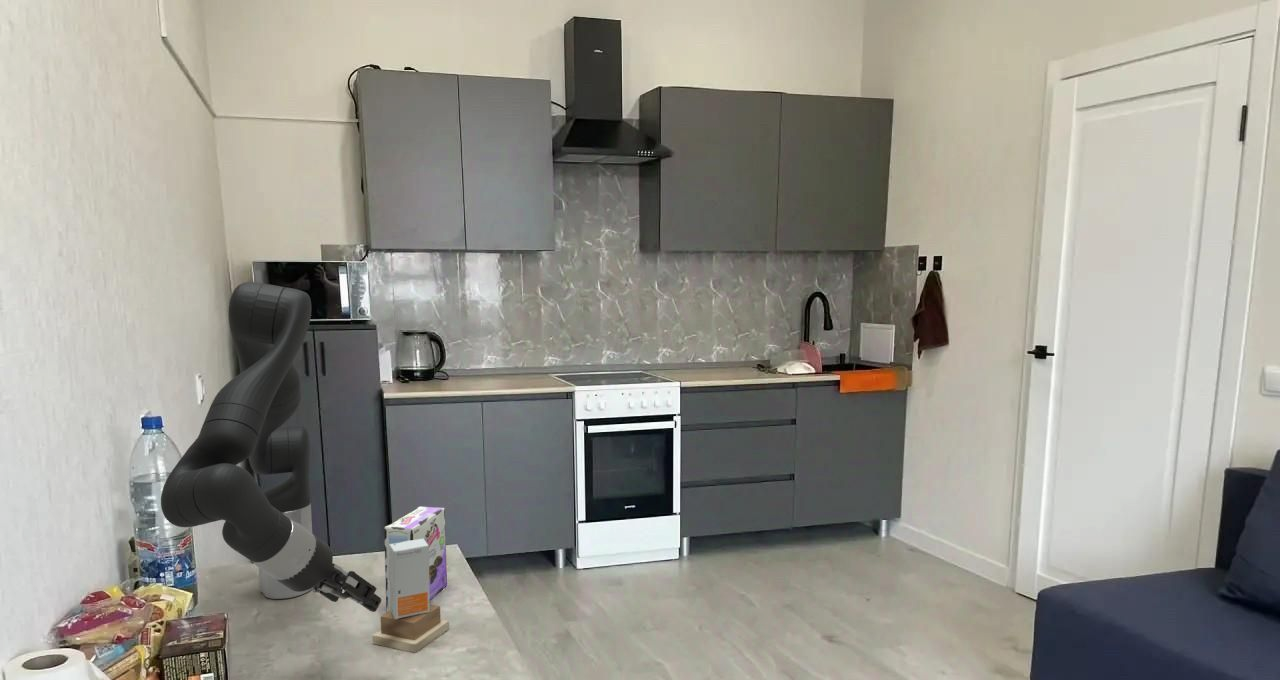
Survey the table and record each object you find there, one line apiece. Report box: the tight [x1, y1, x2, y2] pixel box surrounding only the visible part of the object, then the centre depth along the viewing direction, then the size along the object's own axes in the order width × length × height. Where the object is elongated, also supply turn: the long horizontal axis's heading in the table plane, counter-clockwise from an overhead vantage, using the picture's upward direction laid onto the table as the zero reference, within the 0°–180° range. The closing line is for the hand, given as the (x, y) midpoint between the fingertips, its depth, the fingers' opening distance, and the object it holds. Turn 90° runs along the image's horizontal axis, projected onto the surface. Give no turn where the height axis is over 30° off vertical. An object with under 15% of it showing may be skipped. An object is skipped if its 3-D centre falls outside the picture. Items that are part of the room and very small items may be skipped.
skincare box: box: [389, 539, 431, 619], centre depth 125 cm, size 6×4×12 cm
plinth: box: [371, 603, 450, 654], centre depth 126 cm, size 9×9×4 cm
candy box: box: [383, 506, 448, 613], centre depth 141 cm, size 14×6×16 cm, turn 168°
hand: (357, 600), depth 115 cm, fingers open, 8 cm apart
